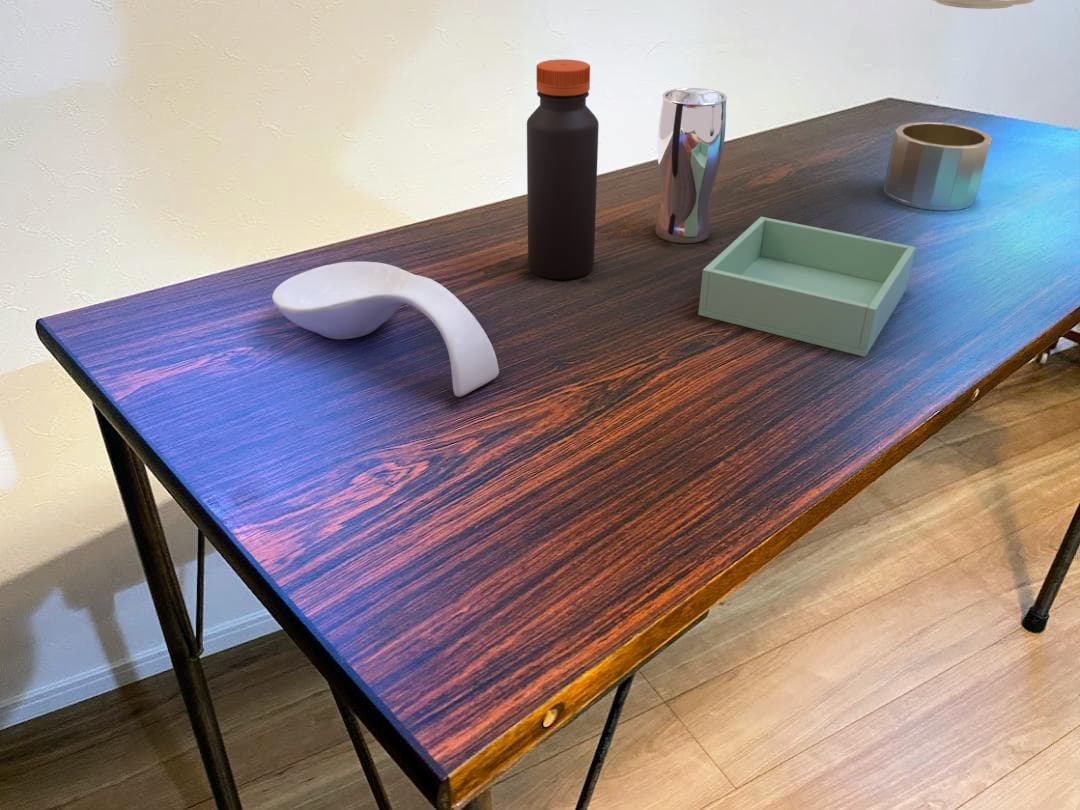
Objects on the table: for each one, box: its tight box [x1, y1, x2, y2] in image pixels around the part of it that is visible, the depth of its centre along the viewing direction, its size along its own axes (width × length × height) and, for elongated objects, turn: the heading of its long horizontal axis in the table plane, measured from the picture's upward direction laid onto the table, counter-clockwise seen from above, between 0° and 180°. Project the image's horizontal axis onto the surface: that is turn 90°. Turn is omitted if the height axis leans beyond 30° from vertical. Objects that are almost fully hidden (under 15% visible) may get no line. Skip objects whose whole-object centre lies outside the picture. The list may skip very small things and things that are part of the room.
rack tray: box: [697, 216, 917, 358], centre depth 85 cm, size 15×15×5 cm
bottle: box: [526, 58, 600, 281], centre depth 88 cm, size 7×7×20 cm
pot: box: [883, 121, 993, 212], centre depth 109 cm, size 11×11×8 cm
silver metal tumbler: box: [654, 87, 728, 244], centre depth 97 cm, size 7×7×15 cm
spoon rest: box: [271, 261, 500, 398], centre depth 78 cm, size 24×12×7 cm, turn 49°
